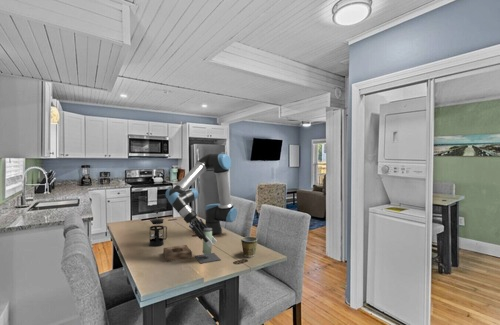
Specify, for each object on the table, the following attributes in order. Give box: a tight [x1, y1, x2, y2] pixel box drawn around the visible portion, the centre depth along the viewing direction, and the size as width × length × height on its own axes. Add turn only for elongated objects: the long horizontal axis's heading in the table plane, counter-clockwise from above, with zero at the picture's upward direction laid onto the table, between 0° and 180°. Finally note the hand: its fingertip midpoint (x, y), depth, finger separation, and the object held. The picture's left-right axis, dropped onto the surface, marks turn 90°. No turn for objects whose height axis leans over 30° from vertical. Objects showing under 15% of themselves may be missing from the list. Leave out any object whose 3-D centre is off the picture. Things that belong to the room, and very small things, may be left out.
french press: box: [148, 210, 168, 248], centre depth 172 cm, size 12×9×23 cm
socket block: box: [163, 244, 193, 262], centre depth 152 cm, size 14×14×4 cm
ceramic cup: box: [240, 236, 258, 258], centre depth 156 cm, size 13×10×10 cm
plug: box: [202, 228, 213, 255], centre depth 148 cm, size 5×5×14 cm
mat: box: [194, 252, 222, 265], centre depth 148 cm, size 12×12×1 cm
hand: (213, 244), depth 147 cm, fingers closed on plug, 5 cm apart
